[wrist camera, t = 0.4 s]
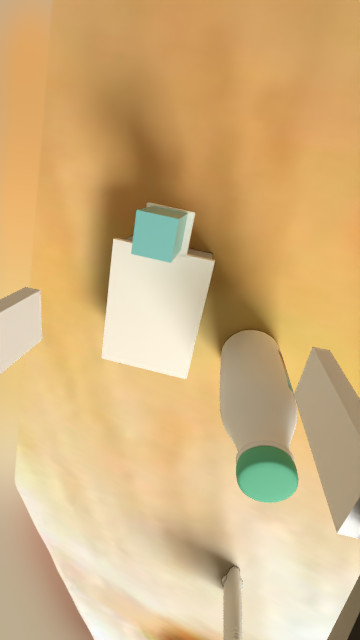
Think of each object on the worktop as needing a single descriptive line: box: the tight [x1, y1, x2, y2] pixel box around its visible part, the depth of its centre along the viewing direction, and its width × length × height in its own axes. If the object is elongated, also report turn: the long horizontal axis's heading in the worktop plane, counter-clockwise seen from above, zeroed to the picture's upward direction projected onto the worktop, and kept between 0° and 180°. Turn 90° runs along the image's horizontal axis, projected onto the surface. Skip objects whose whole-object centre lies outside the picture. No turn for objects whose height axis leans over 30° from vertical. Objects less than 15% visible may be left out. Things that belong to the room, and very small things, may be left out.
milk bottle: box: [220, 330, 298, 502], centre depth 32 cm, size 8×8×20 cm
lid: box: [102, 202, 215, 379], centre depth 31 cm, size 19×11×7 cm, turn 169°
